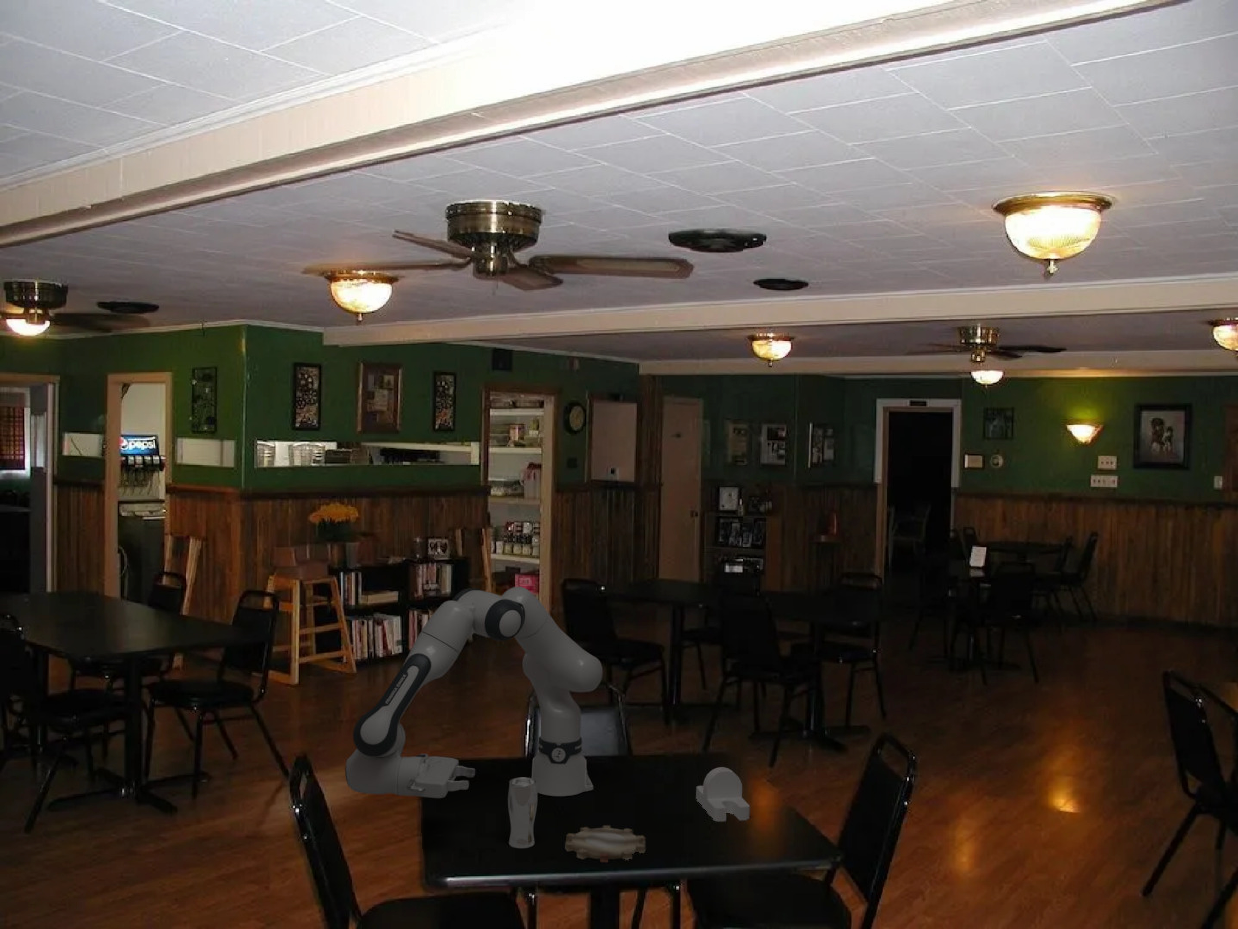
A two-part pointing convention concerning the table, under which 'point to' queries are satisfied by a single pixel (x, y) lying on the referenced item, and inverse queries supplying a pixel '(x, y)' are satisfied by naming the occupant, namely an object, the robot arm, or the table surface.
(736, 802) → the tape dispenser
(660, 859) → the table surface
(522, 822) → the beer glass
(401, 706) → the robot arm
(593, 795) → the table surface
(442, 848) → the table surface
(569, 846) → the sprocket plate
